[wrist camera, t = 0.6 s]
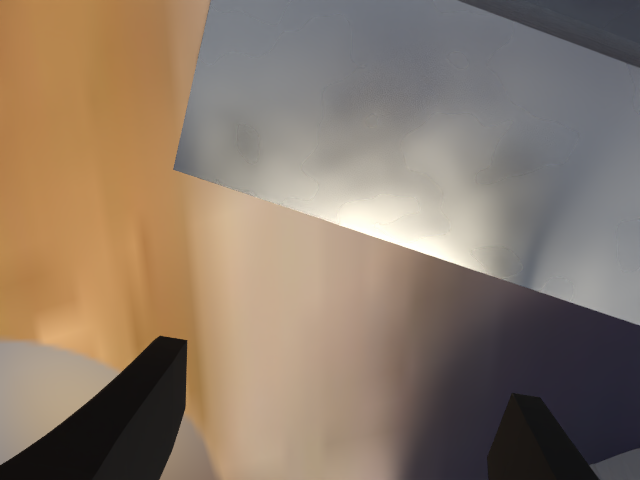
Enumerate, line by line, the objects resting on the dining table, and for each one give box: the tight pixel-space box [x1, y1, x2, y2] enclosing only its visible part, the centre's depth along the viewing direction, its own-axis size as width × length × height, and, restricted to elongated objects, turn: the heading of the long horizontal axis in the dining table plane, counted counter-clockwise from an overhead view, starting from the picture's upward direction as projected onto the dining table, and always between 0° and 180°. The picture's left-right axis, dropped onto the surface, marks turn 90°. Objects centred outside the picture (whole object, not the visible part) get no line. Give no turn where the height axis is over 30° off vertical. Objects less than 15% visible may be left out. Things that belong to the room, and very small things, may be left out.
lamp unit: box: [173, 0, 640, 325], centre depth 15 cm, size 16×7×7 cm, turn 72°
